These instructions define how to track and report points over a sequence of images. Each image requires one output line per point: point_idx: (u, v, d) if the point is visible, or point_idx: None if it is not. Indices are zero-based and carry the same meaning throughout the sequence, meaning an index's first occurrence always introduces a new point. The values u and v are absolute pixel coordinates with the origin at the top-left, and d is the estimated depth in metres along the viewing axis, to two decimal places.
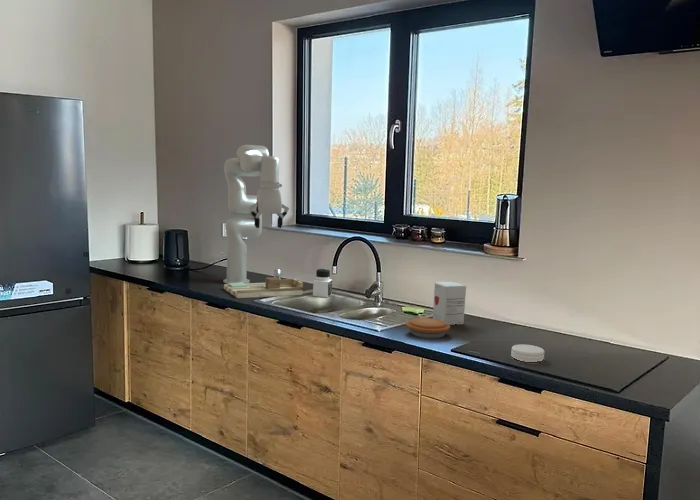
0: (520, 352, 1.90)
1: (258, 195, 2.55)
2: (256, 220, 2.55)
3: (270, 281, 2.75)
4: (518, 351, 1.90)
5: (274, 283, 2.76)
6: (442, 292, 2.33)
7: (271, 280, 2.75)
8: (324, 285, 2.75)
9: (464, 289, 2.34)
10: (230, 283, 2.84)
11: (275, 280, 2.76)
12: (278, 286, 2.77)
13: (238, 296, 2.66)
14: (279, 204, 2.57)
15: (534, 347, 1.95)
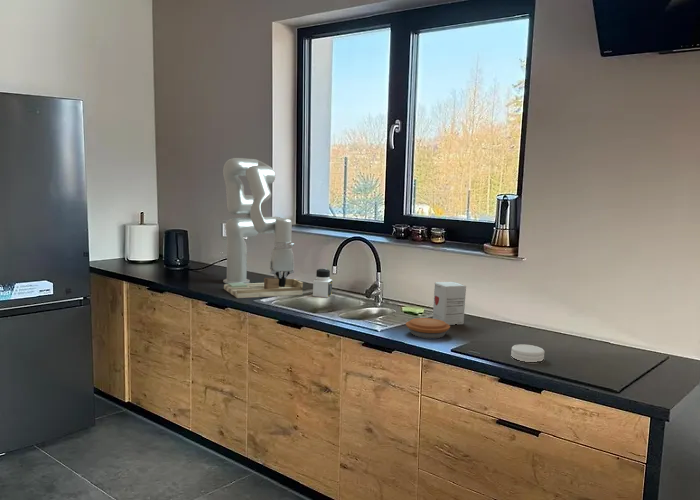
0: (520, 352, 1.90)
1: (272, 254, 2.76)
2: (280, 280, 2.78)
3: (269, 281, 2.74)
4: (518, 351, 1.90)
5: (273, 283, 2.75)
6: (442, 292, 2.33)
7: (270, 280, 2.74)
8: (324, 285, 2.75)
9: (464, 289, 2.34)
10: (230, 283, 2.84)
11: (274, 280, 2.75)
12: (277, 286, 2.76)
13: (238, 296, 2.66)
14: (292, 262, 2.78)
15: (534, 347, 1.95)
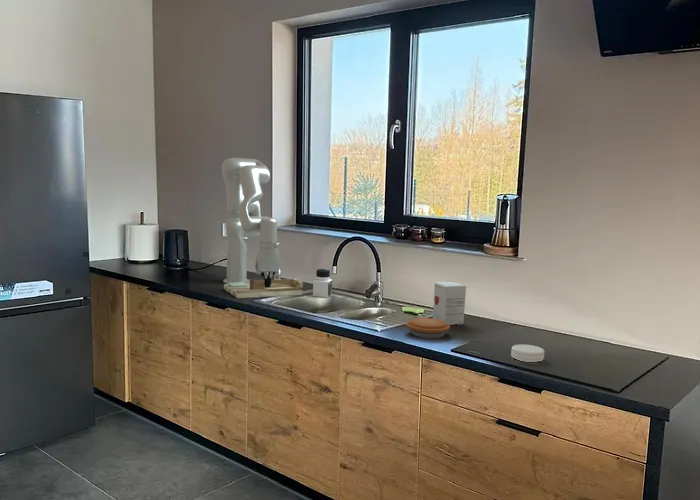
0: (520, 352, 1.90)
1: (257, 254, 2.72)
2: (265, 280, 2.75)
3: (254, 282, 2.71)
4: (518, 351, 1.90)
5: (258, 284, 2.72)
6: (442, 292, 2.33)
7: (255, 281, 2.71)
8: (324, 285, 2.75)
9: (464, 289, 2.34)
10: (230, 283, 2.84)
11: (259, 281, 2.72)
12: (263, 287, 2.73)
13: (238, 296, 2.66)
14: (277, 262, 2.75)
15: (534, 347, 1.95)
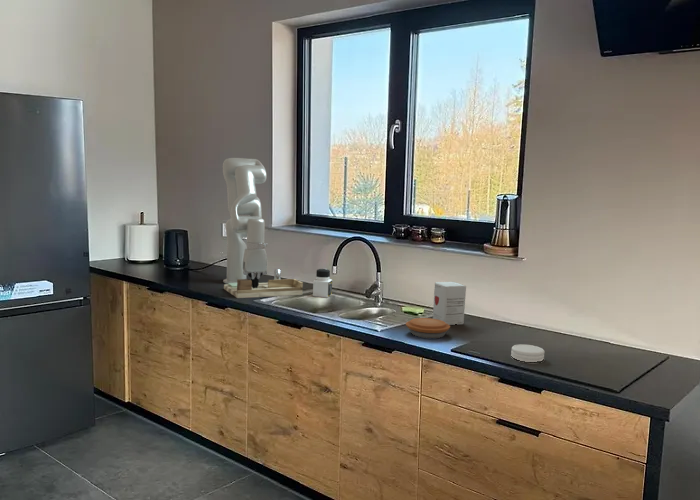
0: (520, 352, 1.90)
1: (245, 255, 2.70)
2: (252, 281, 2.73)
3: (241, 283, 2.68)
4: (518, 351, 1.90)
5: (246, 285, 2.69)
6: (442, 292, 2.33)
7: (242, 282, 2.68)
8: (324, 285, 2.75)
9: (464, 289, 2.34)
10: (230, 283, 2.84)
11: (247, 282, 2.69)
12: (250, 288, 2.70)
13: (238, 296, 2.66)
14: (265, 263, 2.73)
15: (534, 347, 1.95)
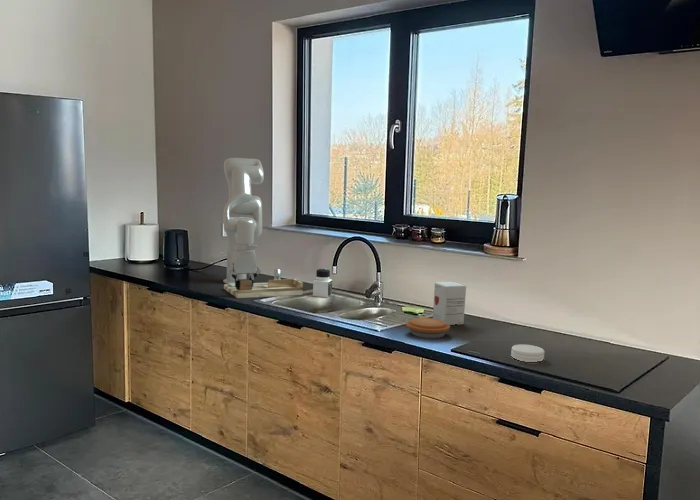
0: (520, 352, 1.90)
1: (234, 256, 2.68)
2: (236, 282, 2.69)
3: (241, 283, 2.68)
4: (518, 351, 1.90)
5: (246, 285, 2.69)
6: (442, 292, 2.33)
7: (242, 282, 2.68)
8: (324, 285, 2.75)
9: (464, 289, 2.34)
10: (230, 283, 2.84)
11: (247, 282, 2.69)
12: (250, 288, 2.70)
13: (238, 296, 2.66)
14: (254, 264, 2.70)
15: (534, 347, 1.95)
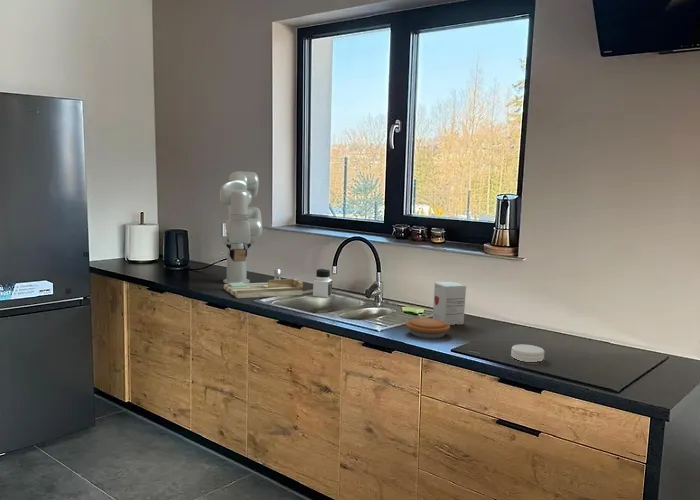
0: (520, 352, 1.90)
1: (228, 226, 2.78)
2: (231, 252, 2.79)
3: (236, 252, 2.78)
4: (518, 351, 1.90)
5: (240, 254, 2.79)
6: (442, 292, 2.33)
7: (237, 251, 2.78)
8: (324, 285, 2.75)
9: (464, 289, 2.34)
10: (230, 283, 2.84)
11: (241, 251, 2.79)
12: (244, 257, 2.80)
13: (238, 296, 2.66)
14: (248, 234, 2.80)
15: (534, 347, 1.95)
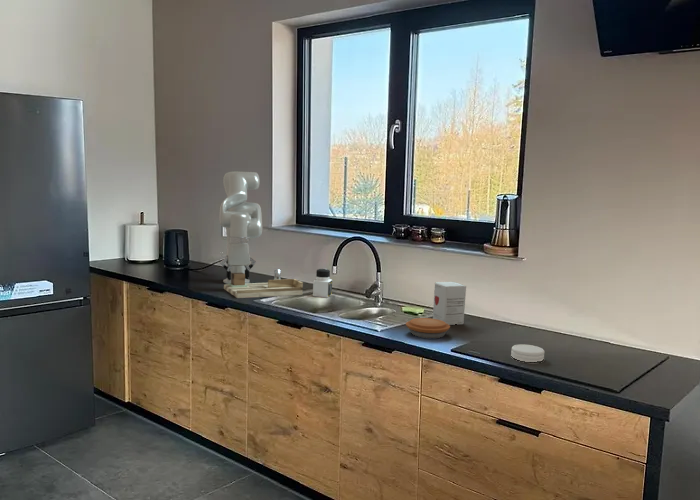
0: (520, 352, 1.90)
1: (228, 249, 2.79)
2: (228, 273, 2.80)
3: (235, 276, 2.79)
4: (518, 351, 1.90)
5: (239, 278, 2.80)
6: (442, 292, 2.33)
7: (236, 275, 2.79)
8: (324, 285, 2.75)
9: (464, 289, 2.34)
10: (230, 283, 2.84)
11: (240, 275, 2.80)
12: (243, 281, 2.81)
13: (238, 296, 2.66)
14: (247, 257, 2.81)
15: (534, 347, 1.95)
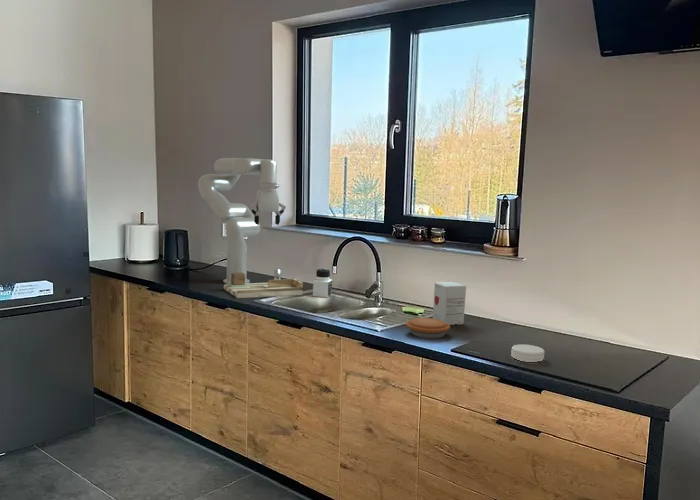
0: (520, 352, 1.90)
1: (258, 195, 2.81)
2: (256, 217, 2.81)
3: (235, 276, 2.79)
4: (518, 351, 1.91)
5: (239, 278, 2.80)
6: (442, 292, 2.33)
7: (236, 275, 2.79)
8: (324, 285, 2.75)
9: (464, 289, 2.34)
10: (230, 283, 2.84)
11: (240, 275, 2.80)
12: (243, 281, 2.81)
13: (238, 296, 2.66)
14: (277, 203, 2.83)
15: (534, 347, 1.95)
